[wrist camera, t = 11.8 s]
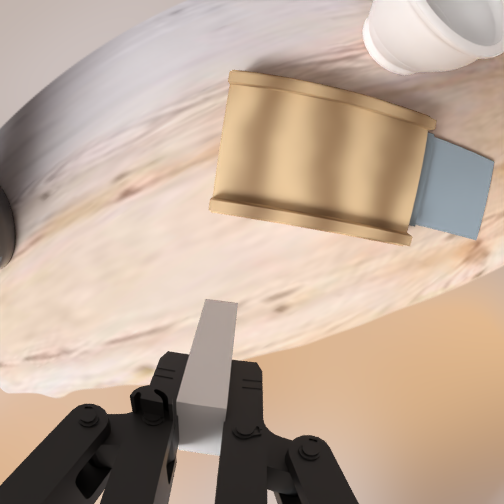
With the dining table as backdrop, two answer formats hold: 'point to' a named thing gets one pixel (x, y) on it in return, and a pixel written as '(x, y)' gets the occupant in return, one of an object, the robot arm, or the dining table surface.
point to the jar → (433, 33)
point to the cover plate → (451, 189)
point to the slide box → (319, 158)
